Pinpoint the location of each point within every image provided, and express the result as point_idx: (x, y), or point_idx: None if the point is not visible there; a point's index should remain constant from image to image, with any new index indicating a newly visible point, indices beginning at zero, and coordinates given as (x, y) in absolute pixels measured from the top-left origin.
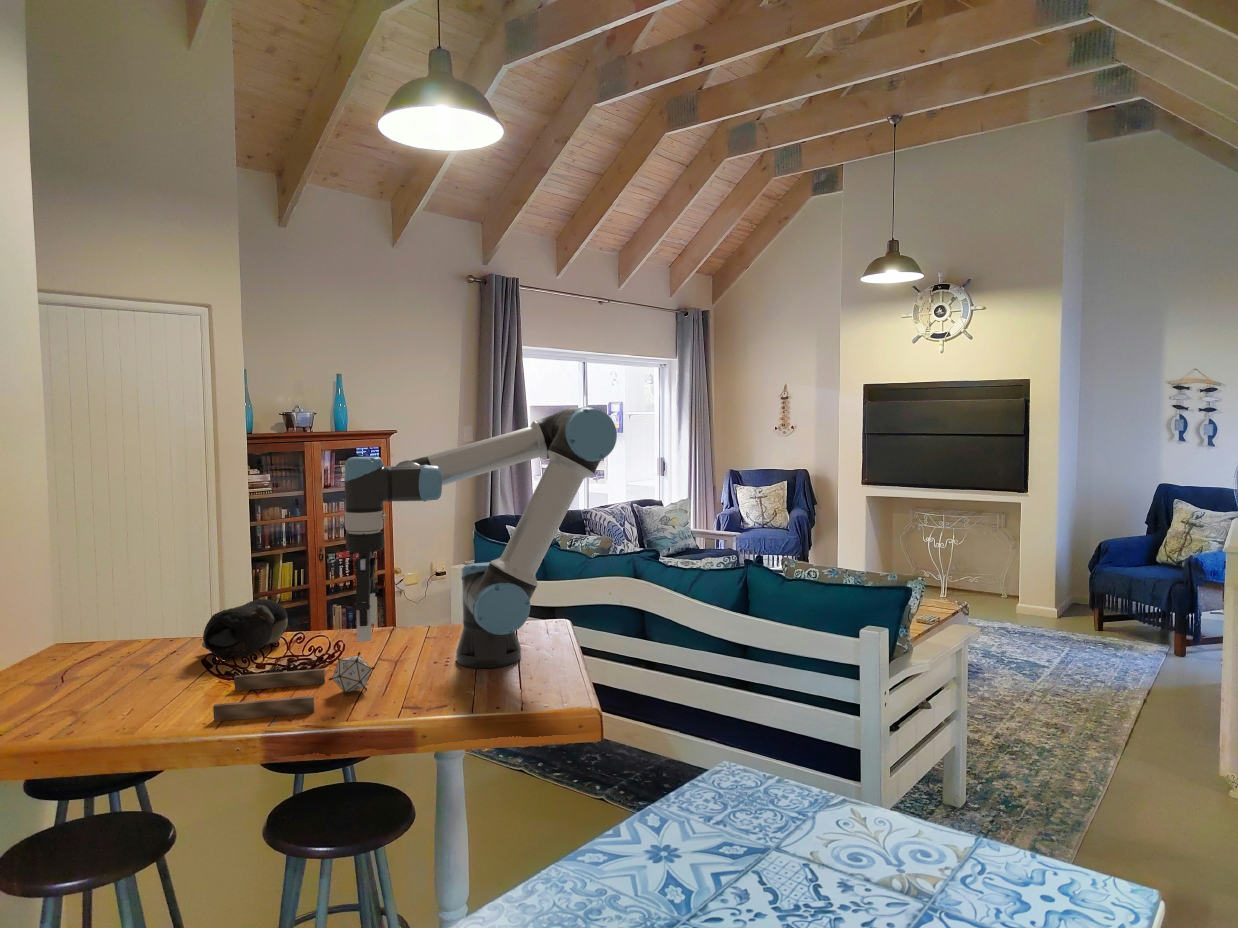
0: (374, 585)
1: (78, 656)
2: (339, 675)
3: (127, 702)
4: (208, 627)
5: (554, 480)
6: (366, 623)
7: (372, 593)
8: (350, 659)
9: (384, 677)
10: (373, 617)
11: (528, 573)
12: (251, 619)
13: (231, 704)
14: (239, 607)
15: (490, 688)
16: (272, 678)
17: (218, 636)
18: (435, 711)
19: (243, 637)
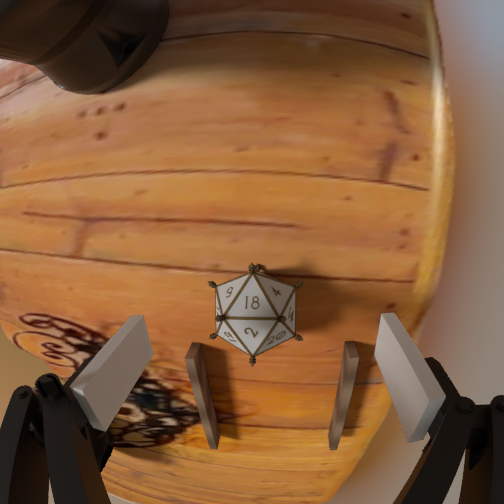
0: (31, 398)
1: (122, 489)
2: (298, 337)
3: (241, 484)
4: (100, 471)
5: None
6: (438, 364)
7: (78, 396)
8: (259, 333)
9: (177, 234)
10: (134, 333)
11: None
12: None
13: (339, 438)
14: None
15: (299, 7)
16: (210, 414)
17: None
18: (414, 118)
19: (101, 446)
